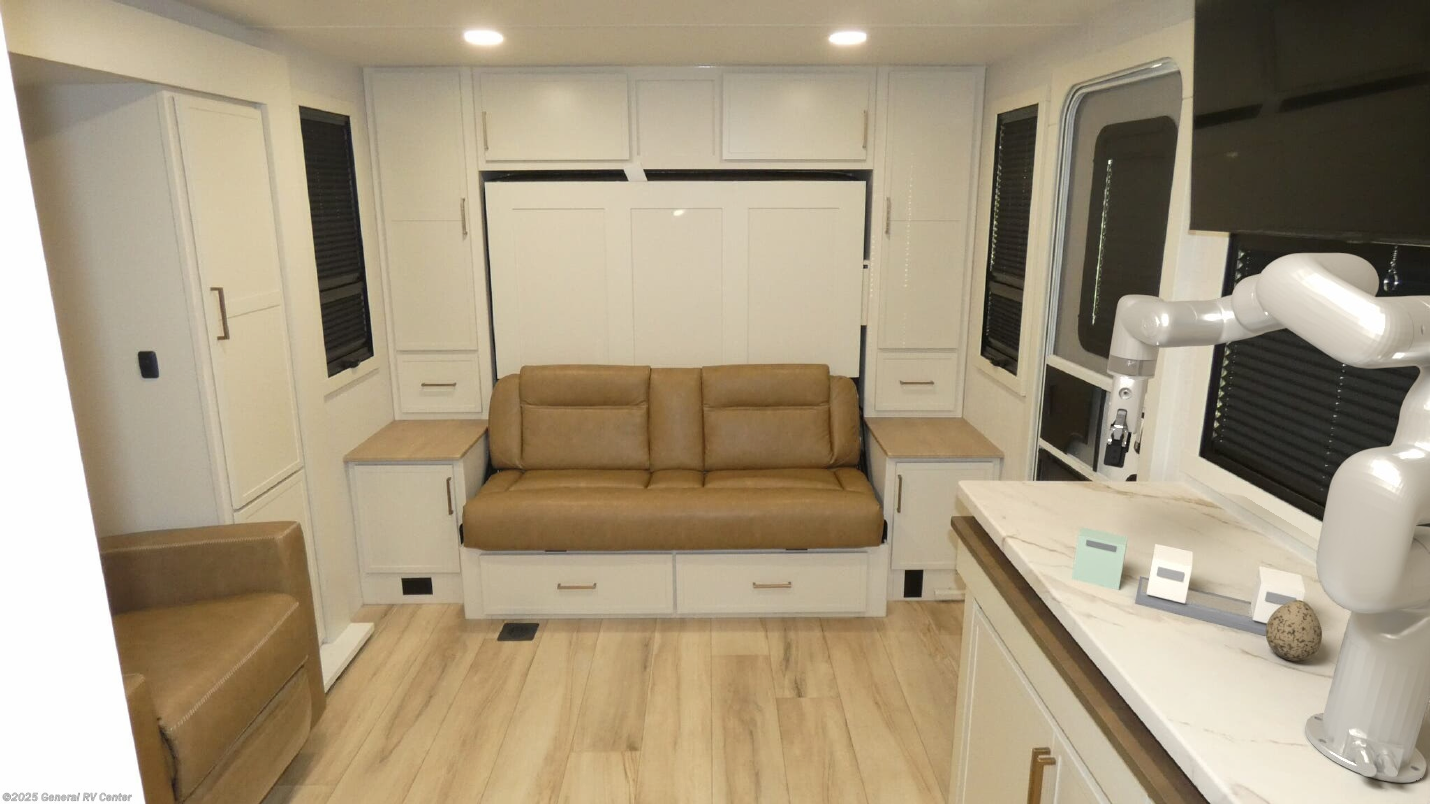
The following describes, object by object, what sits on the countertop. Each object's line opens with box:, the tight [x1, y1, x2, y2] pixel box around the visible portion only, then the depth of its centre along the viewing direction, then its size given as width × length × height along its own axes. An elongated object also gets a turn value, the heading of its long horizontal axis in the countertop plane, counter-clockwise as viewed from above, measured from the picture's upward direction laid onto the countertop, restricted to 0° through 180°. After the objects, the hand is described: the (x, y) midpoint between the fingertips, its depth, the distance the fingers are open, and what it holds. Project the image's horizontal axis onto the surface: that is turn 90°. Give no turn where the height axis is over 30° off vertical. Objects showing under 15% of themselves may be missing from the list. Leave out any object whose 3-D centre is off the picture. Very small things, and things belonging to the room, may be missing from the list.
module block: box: [1071, 526, 1129, 591], centre depth 150 cm, size 5×8×9 cm, turn 59°
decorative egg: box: [1265, 600, 1323, 662], centre depth 126 cm, size 7×7×10 cm
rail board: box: [1134, 543, 1306, 637], centre depth 140 cm, size 10×25×9 cm, turn 59°
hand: (1116, 458), depth 145 cm, fingers open, 9 cm apart
